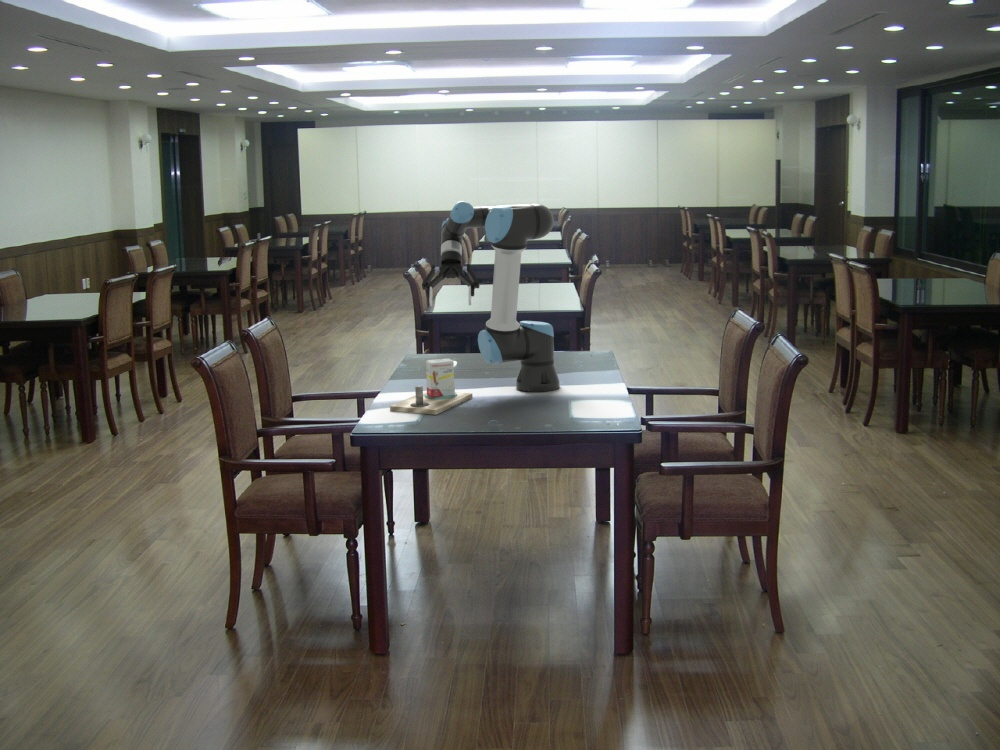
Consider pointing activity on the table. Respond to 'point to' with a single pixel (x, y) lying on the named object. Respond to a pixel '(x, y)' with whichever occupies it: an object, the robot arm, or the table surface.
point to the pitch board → (429, 402)
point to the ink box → (440, 377)
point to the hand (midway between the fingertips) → (450, 303)
